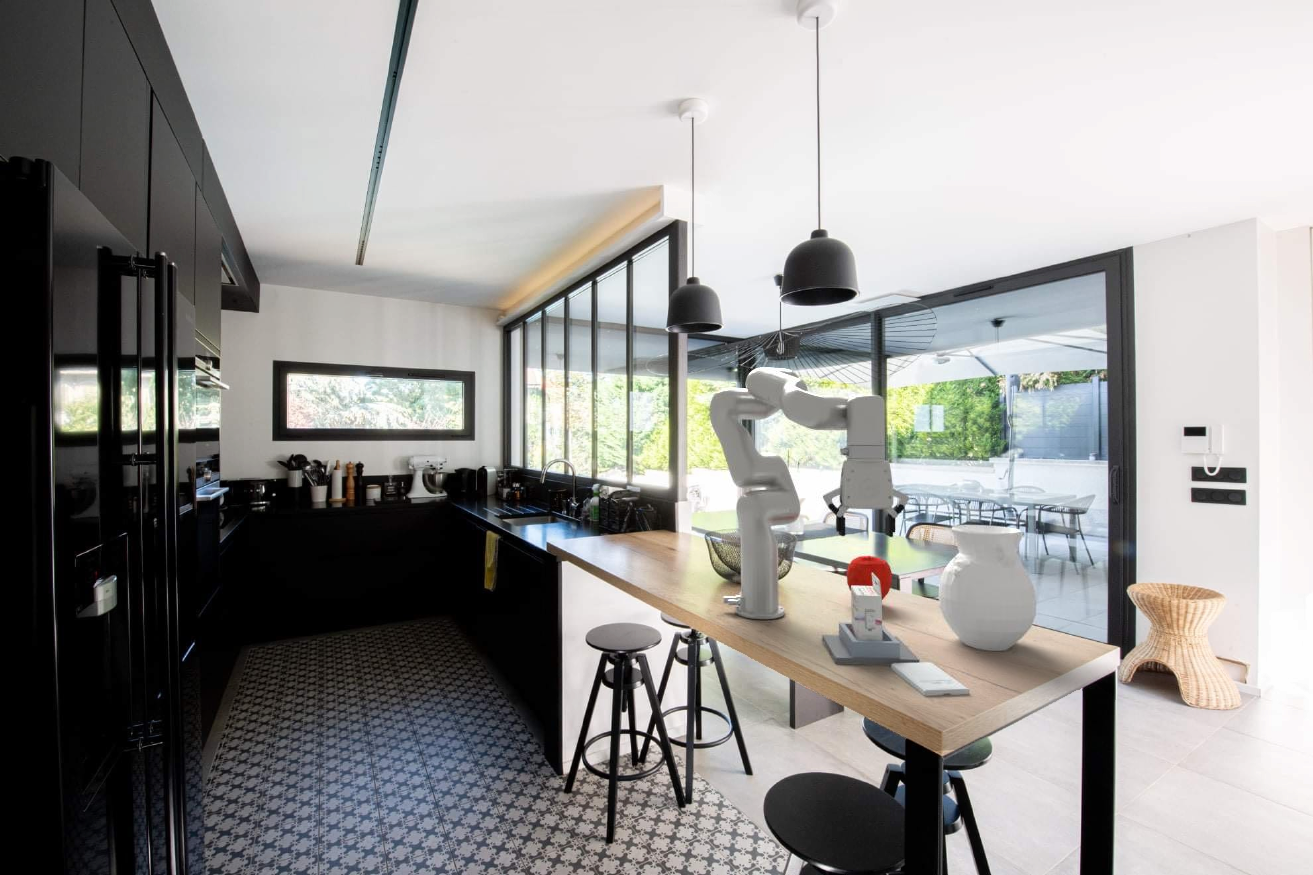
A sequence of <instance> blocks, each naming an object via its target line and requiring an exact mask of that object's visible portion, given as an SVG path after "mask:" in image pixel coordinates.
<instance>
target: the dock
mask: <svg viewBox="0 0 1313 875" xmlns="http://www.w3.org/2000/svg"><path fill="white" fill-rule="evenodd" d="M882 639H883V641H859V640H856V638H855V637H854V636H853V634H852V622H845V621H843V622H839V621H838V635H836V634H822V637H821V640H822V642H823V644H824V646H825V647H826V649H827V651H828V652H829V655H830V656H831V657H832V659H833V661H834V663H835V664H836V665H837V664H838V665H839V664H840V665H868V666H871V665H872V666H876V665H877V666H891V664H893V663H920V659H919V658H918V657H917V656H916V655H915V654H914V653H913V651H912V650H910V649H909V647H908V646H907V645H906V644H905V643H904V642H903V640H901V639H900V638H899V637H898V636H897V635H896V636H894V635H893V634H892V633H891V632H890V631H889V629H887V628H886V627H885V626H884V625H883V624H882Z"/></svg>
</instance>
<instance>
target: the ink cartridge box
mask: <svg viewBox="0 0 1313 875" xmlns="http://www.w3.org/2000/svg"><path fill="white" fill-rule="evenodd" d="M875 581H876V582H877V585H876V583H875ZM872 582H873V586H851V591H850V599H851V600H850V601H851V610H850V612H851V623H852V634H853V636H854V637H855V638H856V640H859V641H883V639H882V625H883V600H882V596H881V586H880V580H879V579H878V578H877V577H876V576H875V575H874V574H873V573H872Z"/></svg>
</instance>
